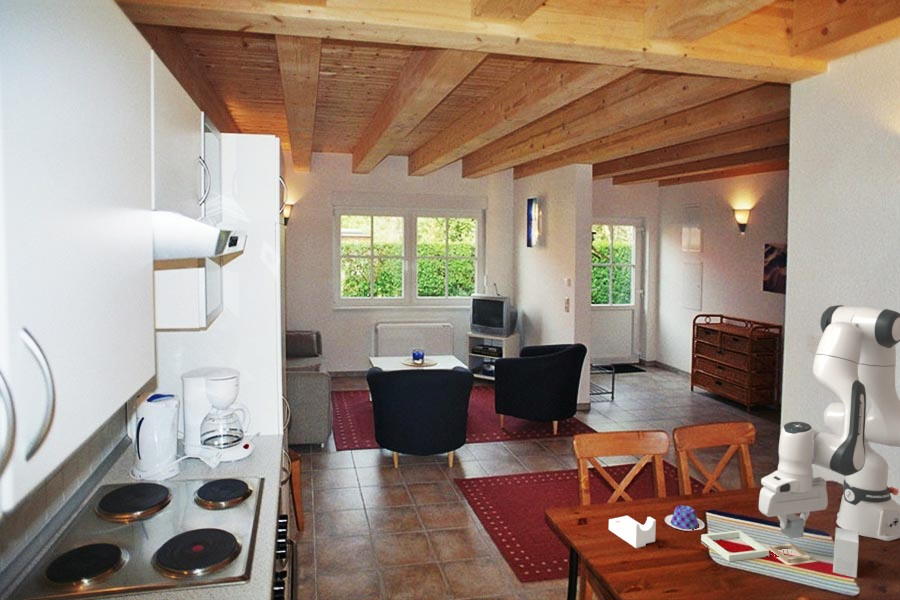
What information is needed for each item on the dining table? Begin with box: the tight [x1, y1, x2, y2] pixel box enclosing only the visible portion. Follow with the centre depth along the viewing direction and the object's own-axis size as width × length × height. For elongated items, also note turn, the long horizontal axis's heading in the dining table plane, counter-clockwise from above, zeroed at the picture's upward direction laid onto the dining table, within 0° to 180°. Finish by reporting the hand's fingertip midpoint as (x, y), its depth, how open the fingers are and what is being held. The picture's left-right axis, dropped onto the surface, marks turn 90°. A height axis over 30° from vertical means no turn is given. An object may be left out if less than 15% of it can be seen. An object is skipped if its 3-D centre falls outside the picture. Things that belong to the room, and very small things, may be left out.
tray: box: [700, 529, 770, 565], centre depth 191 cm, size 13×13×2 cm
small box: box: [832, 527, 860, 579], centre depth 179 cm, size 8×6×10 cm
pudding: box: [664, 504, 706, 531], centre depth 208 cm, size 12×12×5 cm
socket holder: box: [767, 542, 818, 566], centre depth 187 cm, size 10×10×2 cm
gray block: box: [780, 513, 805, 540], centre depth 187 cm, size 4×4×5 cm
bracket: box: [608, 515, 657, 549], centre depth 199 cm, size 13×7×8 cm, turn 23°
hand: (792, 526), depth 187 cm, fingers closed on gray block, 4 cm apart
